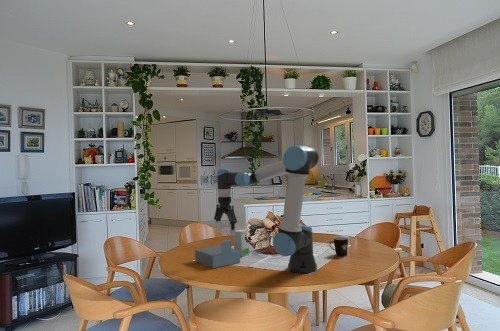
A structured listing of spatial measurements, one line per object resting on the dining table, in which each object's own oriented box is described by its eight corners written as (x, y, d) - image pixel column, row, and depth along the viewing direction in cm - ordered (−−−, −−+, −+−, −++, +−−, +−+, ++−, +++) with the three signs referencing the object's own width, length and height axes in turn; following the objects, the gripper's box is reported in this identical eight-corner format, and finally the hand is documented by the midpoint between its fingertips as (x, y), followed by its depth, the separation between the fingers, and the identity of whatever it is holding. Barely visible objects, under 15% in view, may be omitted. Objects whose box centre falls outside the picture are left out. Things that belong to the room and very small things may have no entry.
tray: (240, 262, 203) (239, 238, 203) (213, 268, 192) (212, 243, 192) (222, 256, 219) (221, 234, 219) (196, 261, 208) (195, 238, 208)
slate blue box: (239, 262, 204) (239, 250, 204) (212, 268, 193) (212, 255, 193) (221, 256, 220) (220, 245, 220) (195, 261, 209) (194, 249, 209)
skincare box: (241, 257, 215) (240, 231, 216) (233, 256, 219) (232, 231, 220) (250, 254, 222) (249, 229, 222) (241, 253, 226) (241, 228, 226)
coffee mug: (347, 253, 216) (346, 236, 216) (350, 256, 207) (349, 239, 208) (328, 253, 217) (327, 237, 217) (330, 256, 209) (329, 239, 209)
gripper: (242, 197, 191) (243, 236, 190) (218, 194, 211) (219, 230, 210) (231, 198, 186) (232, 238, 186) (207, 195, 206) (208, 232, 206)
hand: (225, 234), depth 198 cm, fingers open, 13 cm apart
